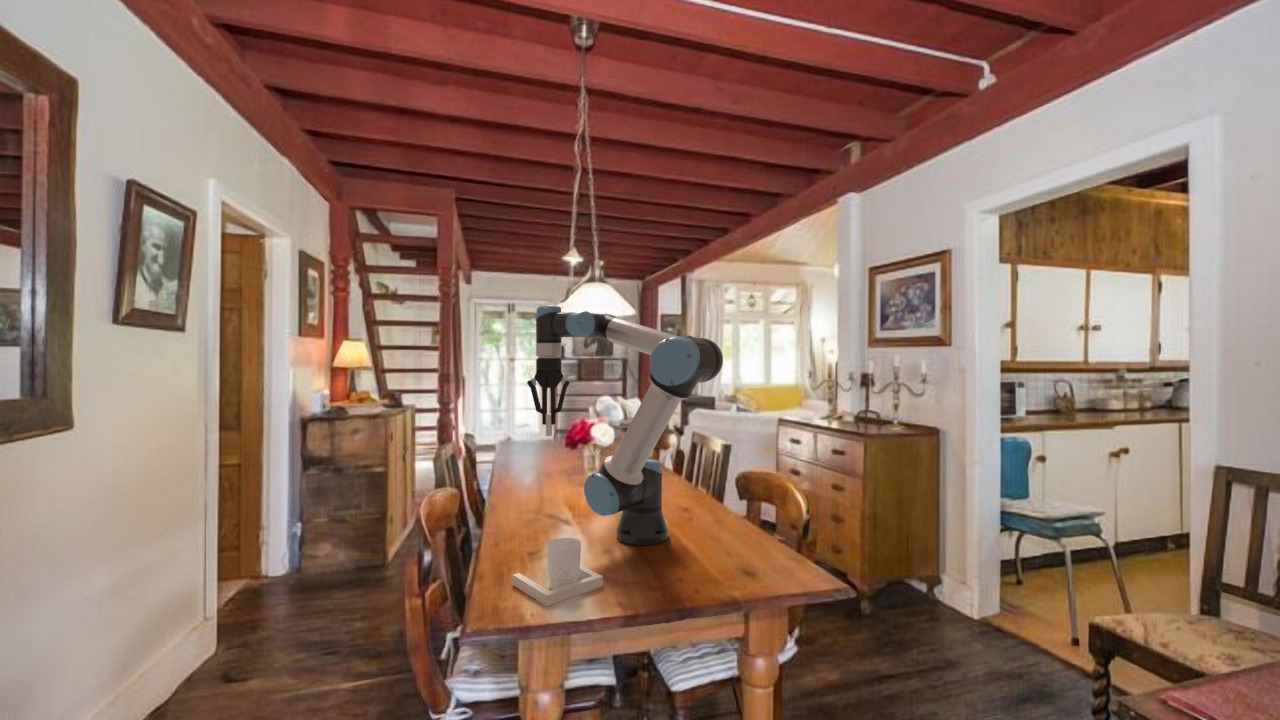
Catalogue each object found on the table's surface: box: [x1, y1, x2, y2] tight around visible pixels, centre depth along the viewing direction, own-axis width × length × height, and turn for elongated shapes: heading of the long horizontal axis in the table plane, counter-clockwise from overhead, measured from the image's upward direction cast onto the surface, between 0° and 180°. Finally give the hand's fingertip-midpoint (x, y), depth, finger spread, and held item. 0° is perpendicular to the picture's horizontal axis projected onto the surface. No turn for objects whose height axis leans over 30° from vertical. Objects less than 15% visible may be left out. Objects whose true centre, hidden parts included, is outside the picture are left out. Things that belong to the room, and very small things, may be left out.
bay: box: [512, 564, 604, 607], centre depth 127 cm, size 15×15×2 cm
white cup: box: [546, 536, 582, 590], centre depth 127 cm, size 8×8×10 cm
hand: (549, 435), depth 165 cm, fingers closed
